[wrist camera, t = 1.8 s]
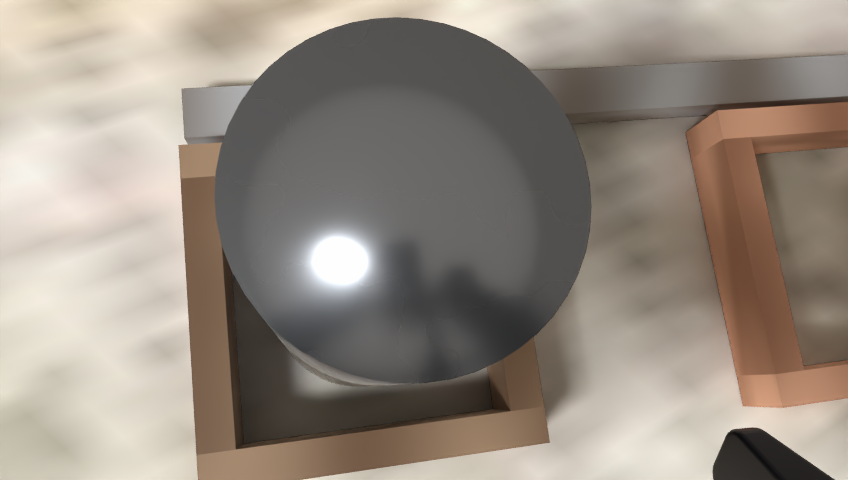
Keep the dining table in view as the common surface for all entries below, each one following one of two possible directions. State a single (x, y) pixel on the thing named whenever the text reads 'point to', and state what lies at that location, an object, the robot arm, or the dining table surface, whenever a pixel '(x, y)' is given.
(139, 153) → the dining table surface
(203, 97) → the socket rail
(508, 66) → the grey peg
